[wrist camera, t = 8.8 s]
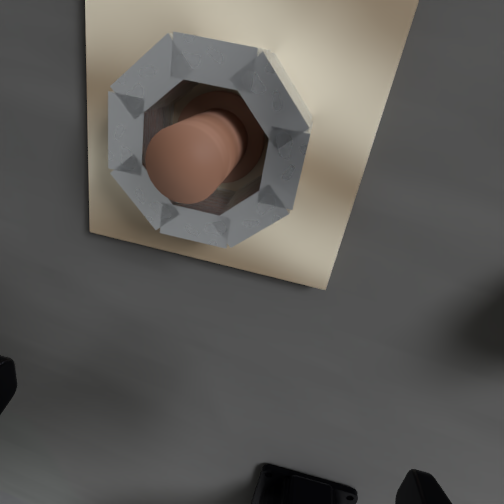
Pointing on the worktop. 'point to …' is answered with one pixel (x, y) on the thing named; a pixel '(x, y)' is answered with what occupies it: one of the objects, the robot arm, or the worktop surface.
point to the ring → (161, 116)
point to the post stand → (249, 119)
